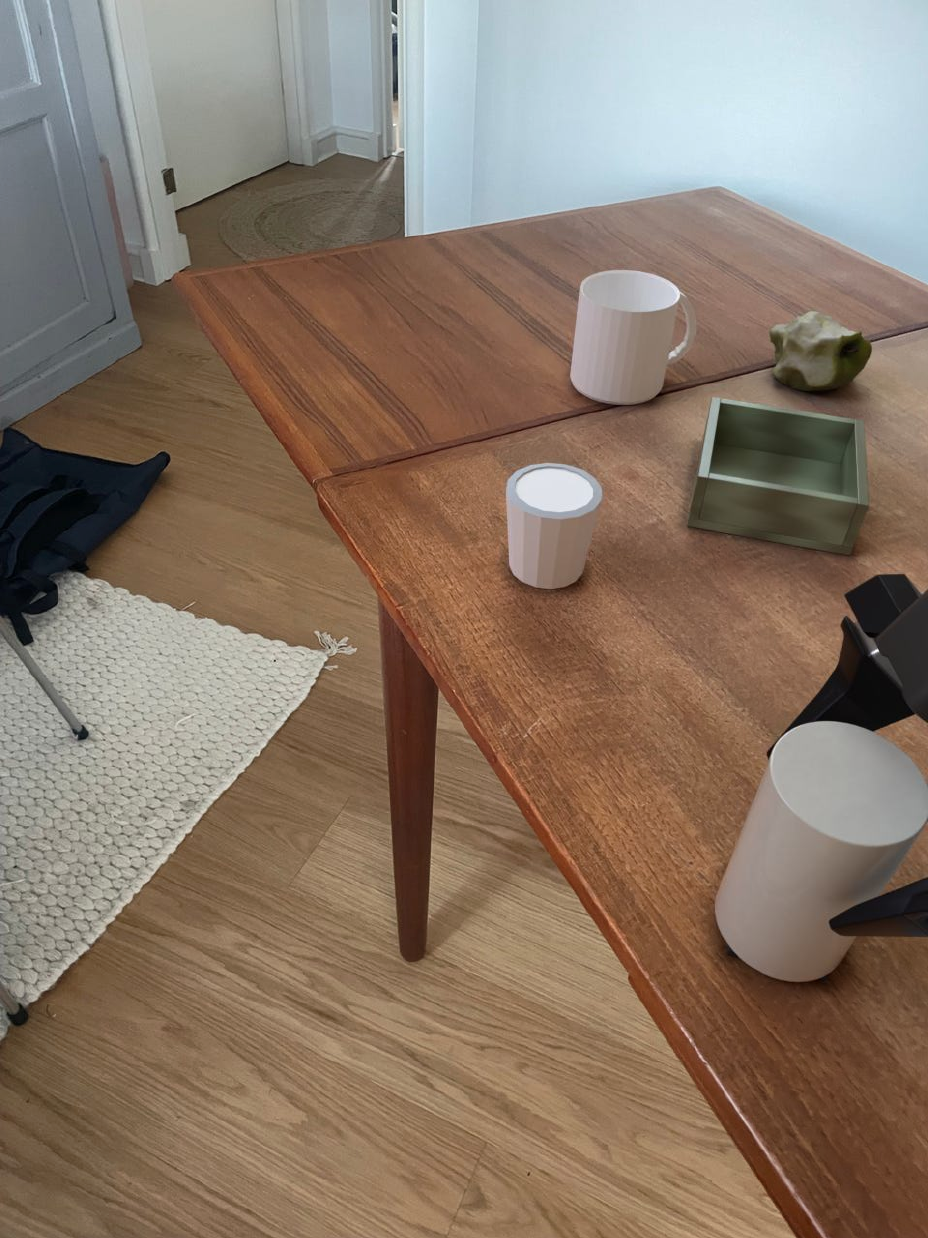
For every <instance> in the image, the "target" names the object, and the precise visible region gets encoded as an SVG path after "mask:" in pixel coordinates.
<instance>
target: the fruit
mask: <svg viewBox="0 0 928 1238" xmlns="http://www.w3.org/2000/svg"><path fill="white" fill-rule="evenodd" d="M862 335H863V331H861V330H859V331H854V330H850V329H848V328H847V327H845V326H842V325H841V324H840V322H838V321H836V320H835V318H834V316H831V315H825V314H823V313H821V312H819V311H813V310H811V311H808V312H807V313H805V314H803V315H798V316H796V317H795V318H794V319H792V320H791V321H790V322H789V323H787V324H784V323H778V324H776V325H774V326H771V327H770V329H769V341H770V343H772V344H773V346H774V359H775V363H776V365H775V366H774V368H773V370H772V371H771V375H772V376H773V377H774V378H775V379H777V380H778V381H779V382H781V383H782V384H783V385H785V386H787V387H790V388H792V389H795V390H798V391H803V392H821V391H822V392H823V391H831V390H835V389H839V388H842V387H844V386H845V385H847V384H849V383H850V382H852V381H853V380H854V379H855V378H856V377H857V376H859V375H860V373H861V372H862V371H863V370H864V369H865V368H866V365H867V364H868V361H869V360H870V358H871V356H872V353H873V345H872V342H871V341H870V340H868V339H866V338H864V337H863V336H862Z"/></svg>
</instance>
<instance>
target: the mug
mask: <svg viewBox="0 0 928 1238" xmlns="http://www.w3.org/2000/svg"><path fill="white" fill-rule="evenodd" d="M577 302H578V303H577V311H576V319H575V320H576V321H575V330H574V339H573V347H572V357H571V367H570V374H569V375H570V381H571V383H572V385H573V387H574V388H575V390H577V392H579V393H580V394H581V395H583V396H584V397H586V398H588V399H591V400H593V401H596V402H599V403H603V404H608V405H615V406H631V405H638V404H642V403H645V402H649V401H650V400H652V399H654V398H655V397H656V396H657V395H658V394H659V393H660V392H661V391H662V389H663V388H664V383H665V377H666V372H667V367H668V365H674V364H675V363H676V362H678V361H680V360H681V359H683V358H684V356H686V355H687V353H688V352H690V351H691V349H692V348H693V346H694V341H695V339H696V335H697V319H696V318H697V316H696V313H695V310H694V307H693V305H692V304H691V302H690V300H689V298H688V297H687V295H686V294H684V293H683V292H681V291H680V290H679V288H678V287H677V286H676V285H675V284H674V283H672V282H671V281H670V280H668V279H666V278H664V277H661V276H659V275H657V274H653V273H649V272H646V271H639V270H632V269H612V270H603V271H599V272H595V273H593V274H590V275H588V276H587V277H584V279H583V280H582V281H581V283H580V286H579V293H578V301H577ZM679 303H680V305H681V307H682V309H683V311H684V315H685V322H686V323H685V324H686V332H685V333H684V338H683V341H682V342H680V344H679V345H678V346H675V349H673V350H671V346H672V342H673V341H672V340H673V335H674V330H675V324H676V319H677V313H678V308H679ZM670 350H671V351H670Z"/></svg>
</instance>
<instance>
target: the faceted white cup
mask: <svg viewBox="0 0 928 1238" xmlns="http://www.w3.org/2000/svg"><path fill="white" fill-rule="evenodd" d="M602 500H603V488H602V486H601V485H600V483H599V482H598V480H597V478H595V476H593V475H592V474H589V473H588V472H587V471H585V470H583V469H582V468H578V467H575V466H572V465H569V464H565V463H564V464H563V463H554V462H544V463H535V464H530V465H527V466H525V467H522V468H521V469H518V470H516V471H514V473H513V474H512V475H511V476H510V477H509V478H508V479H507V482H506V488H505V503H506V504H505V505H506V520H507V521H506V522H507V546H508V565H509V569H510V571H511V572H512V574H513V576H514V577H515V578H517V579H518V580H519V581H521V582H522V583H523V584H526V585H528V586H531V587H533V588H536V589H545V590H555V589H560V588H561V589H562V588H566V587H569V586H570V585H572V584H574V583H576V582H577V581H578V580H579V579H580V577H581V576H582V574H583V573H584V570H585V565H586V562H587V558H588V553H589V550H590V547H591V543H592V539H593V535H594V531H595V527H596V523H597V520H598V516H599V511H600V508H601V504H602Z"/></svg>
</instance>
